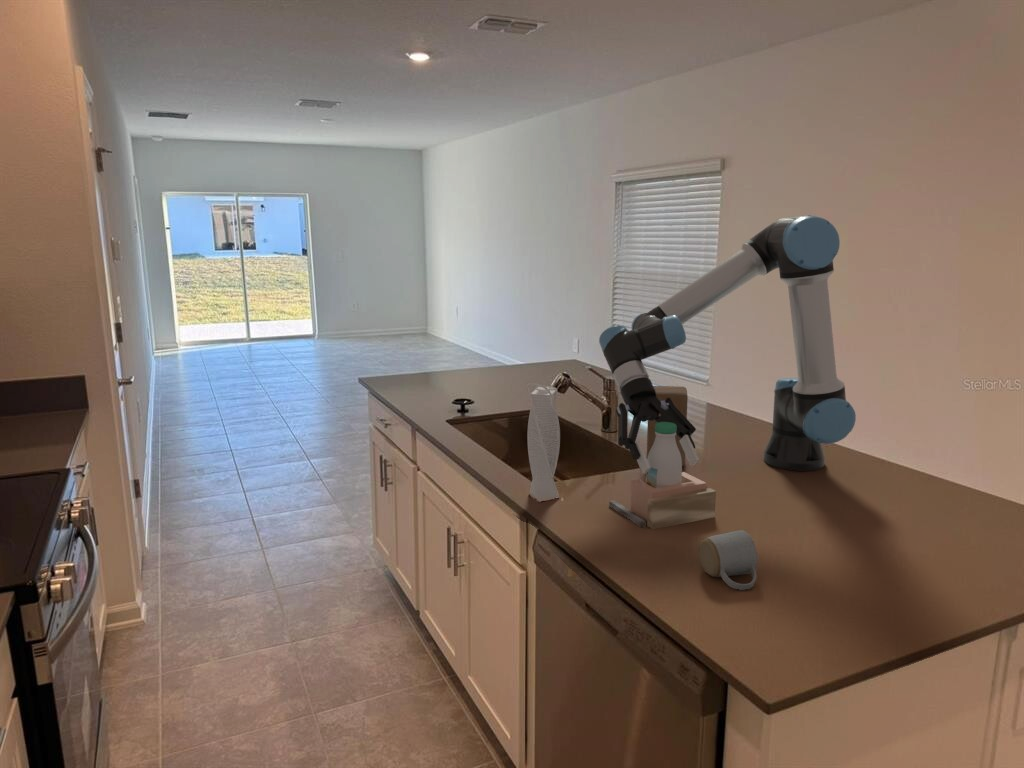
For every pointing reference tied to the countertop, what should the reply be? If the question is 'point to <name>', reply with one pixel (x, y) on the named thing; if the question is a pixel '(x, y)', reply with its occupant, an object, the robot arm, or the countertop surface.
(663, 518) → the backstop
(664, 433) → the milk bottle
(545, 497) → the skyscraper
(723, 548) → the ceramic mug
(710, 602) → the countertop surface
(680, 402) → the block
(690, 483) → the cradle
